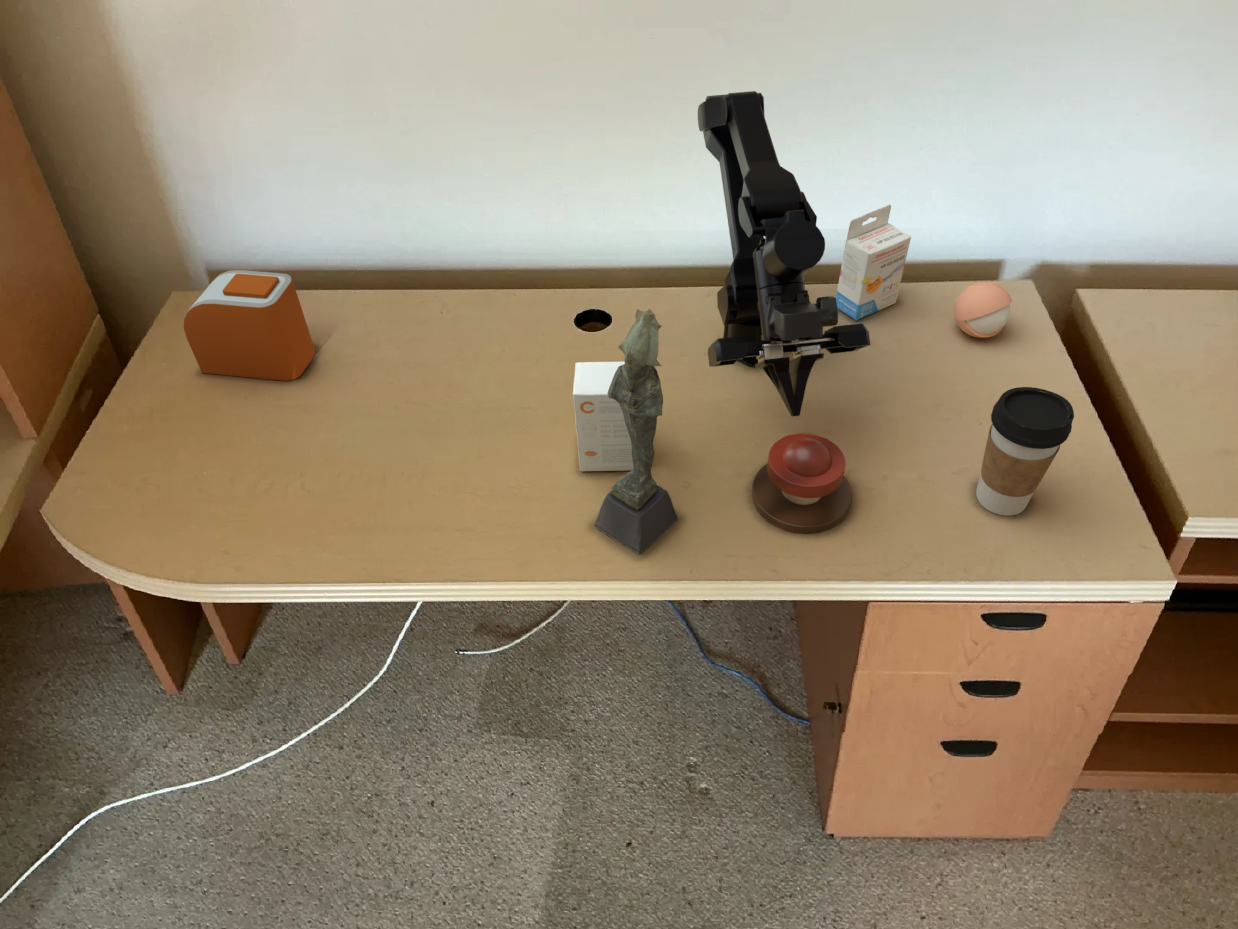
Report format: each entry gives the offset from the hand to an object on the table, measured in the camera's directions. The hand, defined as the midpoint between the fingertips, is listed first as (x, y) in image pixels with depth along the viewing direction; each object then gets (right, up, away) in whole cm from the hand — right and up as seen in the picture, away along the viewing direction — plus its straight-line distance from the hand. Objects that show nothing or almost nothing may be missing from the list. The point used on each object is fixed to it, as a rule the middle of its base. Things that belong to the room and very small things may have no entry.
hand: (795, 416), depth 114 cm
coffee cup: (+25, -10, +1) cm, 27 cm away
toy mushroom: (+1, -10, +2) cm, 10 cm away
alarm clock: (-74, +9, +24) cm, 78 cm away
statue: (-19, -13, -1) cm, 23 cm away
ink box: (+16, +18, +29) cm, 38 cm away
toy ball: (+31, +13, +24) cm, 41 cm away
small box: (-22, -5, +8) cm, 24 cm away
